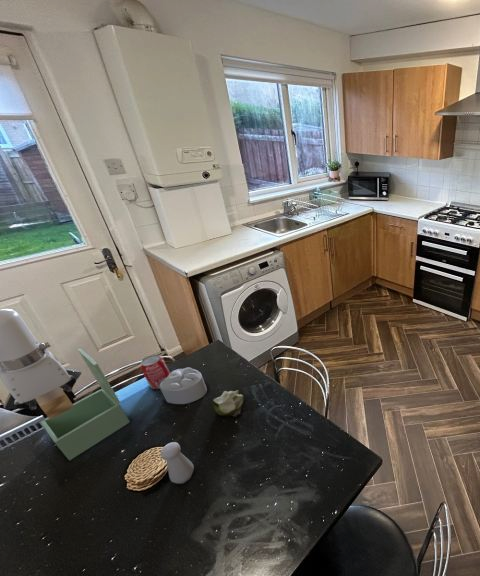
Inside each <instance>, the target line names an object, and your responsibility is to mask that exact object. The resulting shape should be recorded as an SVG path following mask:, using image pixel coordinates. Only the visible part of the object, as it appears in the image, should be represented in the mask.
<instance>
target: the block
mask: <svg viewBox="0 0 480 576" xmlns="http://www.w3.org/2000/svg"><path fill="white" fill-rule="evenodd" d="M36 402H38V404H39V406H40V407H41V408H42V410H43V411H44V412H45V414H46V415H47V416H48V417H49V419H52V418H54V417H56V416H58V415H59V414H61V413H63V412H65V411H67V410H69V409H71V408H73V407H74V405H73V404H72V402H71V401H70V400H69V398H68V397H67V395H66V394H65V392H64V391H63V389H62V388H60V387H58V388H56V389H54V390H52V391H49V392H47V393H45V394H43V395H41V396H39V397H37V398H36ZM48 417H47V418H48Z"/></svg>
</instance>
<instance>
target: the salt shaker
mask: <svg viewBox="0 0 480 576" xmlns="http://www.w3.org/2000/svg"><path fill="white" fill-rule="evenodd" d="M160 457H161V459H162V460H164V461H166V465H167V470H168V471H167V472H168V477H169V480H170V482H171V483H174V484H181V485H182V484H185V483H186V482H187V481H189V480H190V479H191V477H192V475H193V473H194V470H195V466H194V464H193V462H192V461H191V460H190V459H189V458H188V457H186V456H185V455H184V454H183V453H182V451H181V445H180V444H179V443H178V442H176V441H173V442H169V443H167V444H165V446H163V447H162V449H161V450H160Z"/></svg>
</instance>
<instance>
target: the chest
mask: <svg viewBox="0 0 480 576" xmlns="http://www.w3.org/2000/svg"><path fill="white" fill-rule="evenodd" d="M75 402H76V403H74V404H73V405H74V407H73V408H71V409H69V410H67V411H65V412H63V413H61V414H59V415H58V416H56V417H54V418H52V419H49V417H47V418H44V419H42V420H40V424H41V425H42V427H43V428H44V429H45V431H46V432H47V434H48V435H49V437H50V439H52V441H53V443H54V444H55V445H56V446H57V448H58V449H59V450H60V451H61V452H62V454H63V455H64V456H65V457H66V458H67V460H68V461H72V460H73V459H74V458H76V457H77V456H79V455H80V454H83V453H84V452H86V451H87V450H88V449H90V448H92V447H93V446H95V445H97V444H98V443H99V442H101V441H103V440H105V439H106V438H108V437H109V436H111V435H112V434H114V433H115V432H117V431H118V430H120V429H121V428H123V427H125V426H126V425H128V424H129V423H131V421H130V420H129V418H128V416H127V414H126V412H125V411H124V409H123V407H122V406H121V403H119V404H117V403H116V402H115V401H114V400H113V399H112V398H111V397H110V396H109V395H108V394H107V393H106V392H105V391H104V390H103V389H102V388H101V389H98V390H97V391H95V392H93V393H91V394H89V395H87V396H85V397H83V398H81V399H80V400H78V401H75Z"/></svg>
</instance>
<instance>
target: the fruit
mask: <svg viewBox="0 0 480 576" xmlns="http://www.w3.org/2000/svg"><path fill="white" fill-rule="evenodd" d="M212 402H213V404H208V406H209V407H213V409H214V411H215V413H217V414H218V415H219V416H231V417H235V418H236V417H237V415H241V411H242V406H243V403H244V395H243V394H242V393H240V390H239V389H237V390H234V391H233V390H230V391H227V390H224V391H223V392H222V394H221V395H220V396H218V397H216V398H214V399H213V400H212Z"/></svg>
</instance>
